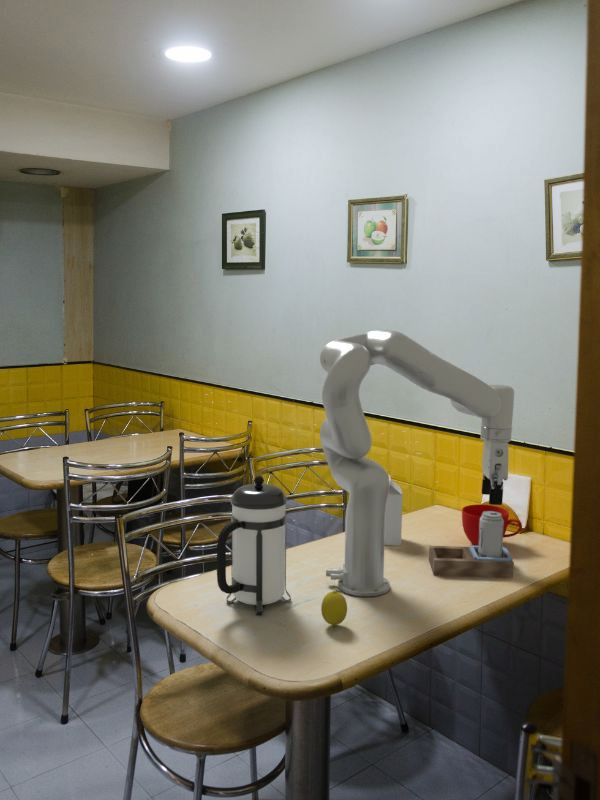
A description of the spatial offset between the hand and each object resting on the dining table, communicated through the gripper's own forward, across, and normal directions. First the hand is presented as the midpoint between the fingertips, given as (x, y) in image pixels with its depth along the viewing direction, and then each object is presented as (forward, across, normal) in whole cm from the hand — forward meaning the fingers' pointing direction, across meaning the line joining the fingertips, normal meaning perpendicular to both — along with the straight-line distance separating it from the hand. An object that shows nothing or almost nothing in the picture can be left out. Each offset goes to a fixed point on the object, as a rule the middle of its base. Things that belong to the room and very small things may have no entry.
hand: (491, 499), depth 189 cm
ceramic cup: (+19, +19, -5) cm, 27 cm away
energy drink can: (+19, 0, -1) cm, 19 cm away
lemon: (+20, -36, +39) cm, 57 cm away
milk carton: (+19, +20, +24) cm, 37 cm away
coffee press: (+21, -26, +57) cm, 66 cm away
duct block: (+19, 0, +4) cm, 19 cm away
